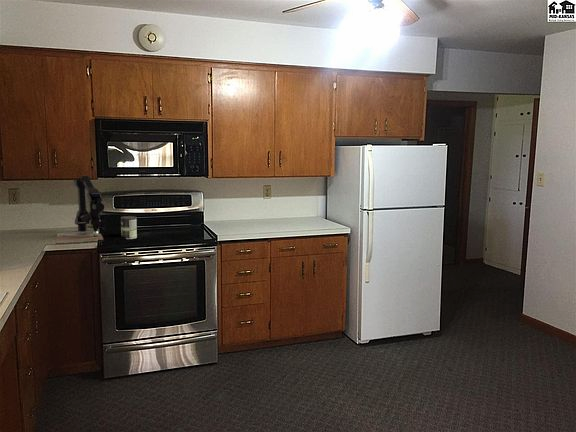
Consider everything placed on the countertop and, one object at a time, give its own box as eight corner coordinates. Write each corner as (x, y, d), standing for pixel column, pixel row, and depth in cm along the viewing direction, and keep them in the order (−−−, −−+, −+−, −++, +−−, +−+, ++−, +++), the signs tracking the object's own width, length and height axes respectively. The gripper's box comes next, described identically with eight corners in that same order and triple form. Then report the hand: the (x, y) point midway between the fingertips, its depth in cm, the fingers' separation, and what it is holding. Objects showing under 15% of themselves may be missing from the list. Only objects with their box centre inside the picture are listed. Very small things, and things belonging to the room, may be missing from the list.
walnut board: (55, 238, 328) (55, 236, 328) (100, 235, 340) (100, 233, 340) (55, 244, 310) (55, 241, 310) (103, 241, 322) (103, 239, 322)
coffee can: (121, 239, 330) (120, 218, 328) (120, 236, 339) (120, 216, 337) (137, 238, 334) (137, 218, 331) (136, 235, 343) (136, 215, 341)
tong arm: (64, 237, 325) (64, 231, 325) (65, 236, 328) (65, 230, 328) (98, 236, 328) (98, 231, 328) (99, 236, 332) (99, 230, 331)
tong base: (57, 236, 328) (57, 233, 328) (89, 234, 336) (89, 231, 336) (57, 237, 324) (57, 234, 323) (90, 235, 332) (90, 233, 332)
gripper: (80, 208, 334) (81, 230, 337) (82, 212, 317) (83, 236, 320) (98, 207, 339) (99, 229, 341) (100, 211, 322) (101, 235, 325)
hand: (95, 232), depth 332 cm, fingers closed
